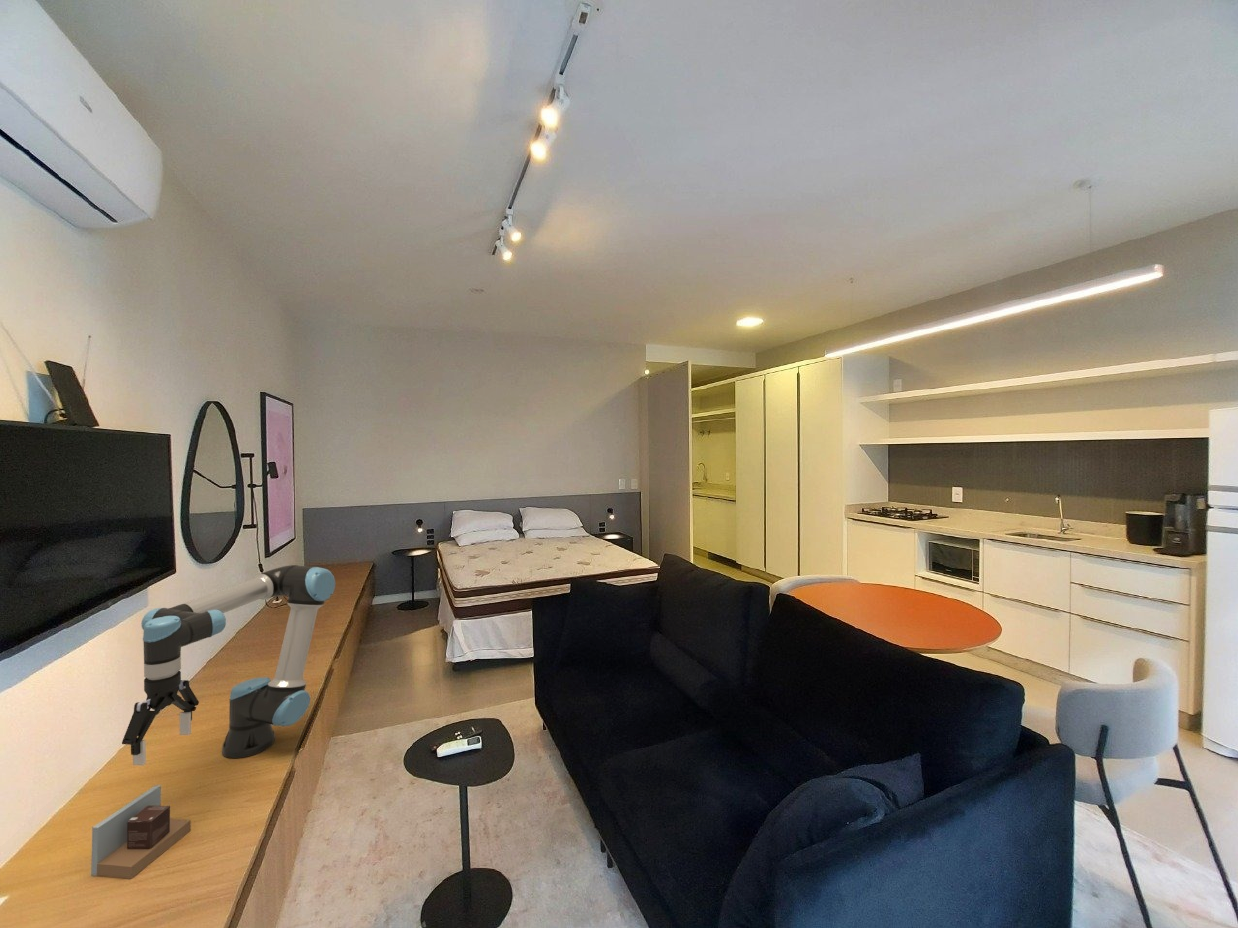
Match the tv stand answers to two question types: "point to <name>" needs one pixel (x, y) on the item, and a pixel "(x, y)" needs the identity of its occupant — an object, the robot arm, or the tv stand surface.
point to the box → (148, 827)
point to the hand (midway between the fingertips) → (163, 748)
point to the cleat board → (112, 840)
